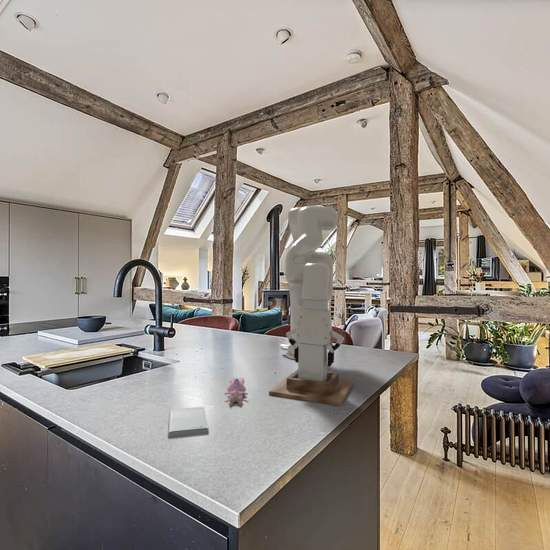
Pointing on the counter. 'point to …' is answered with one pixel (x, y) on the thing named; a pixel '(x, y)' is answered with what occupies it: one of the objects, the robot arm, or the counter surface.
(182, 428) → the hard drive
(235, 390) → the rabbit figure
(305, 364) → the supplement box
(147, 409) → the counter surface
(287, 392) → the walnut holder
